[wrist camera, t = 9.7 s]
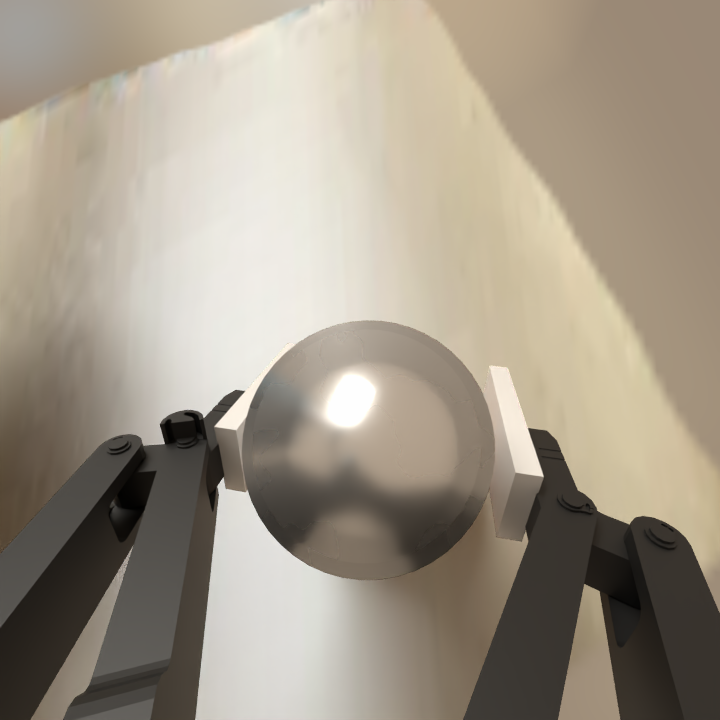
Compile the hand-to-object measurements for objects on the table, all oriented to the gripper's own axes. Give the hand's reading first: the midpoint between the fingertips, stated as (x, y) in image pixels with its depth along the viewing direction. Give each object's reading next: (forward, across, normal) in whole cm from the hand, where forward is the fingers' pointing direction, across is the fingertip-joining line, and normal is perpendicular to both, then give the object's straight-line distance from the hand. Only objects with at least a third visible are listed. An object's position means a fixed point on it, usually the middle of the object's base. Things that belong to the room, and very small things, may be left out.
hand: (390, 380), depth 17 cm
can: (+1, 0, -6) cm, 6 cm away
